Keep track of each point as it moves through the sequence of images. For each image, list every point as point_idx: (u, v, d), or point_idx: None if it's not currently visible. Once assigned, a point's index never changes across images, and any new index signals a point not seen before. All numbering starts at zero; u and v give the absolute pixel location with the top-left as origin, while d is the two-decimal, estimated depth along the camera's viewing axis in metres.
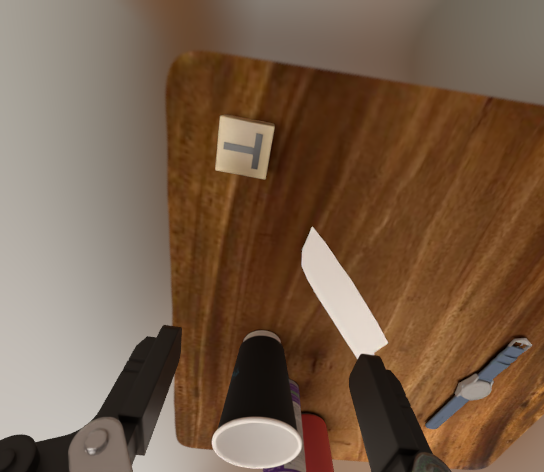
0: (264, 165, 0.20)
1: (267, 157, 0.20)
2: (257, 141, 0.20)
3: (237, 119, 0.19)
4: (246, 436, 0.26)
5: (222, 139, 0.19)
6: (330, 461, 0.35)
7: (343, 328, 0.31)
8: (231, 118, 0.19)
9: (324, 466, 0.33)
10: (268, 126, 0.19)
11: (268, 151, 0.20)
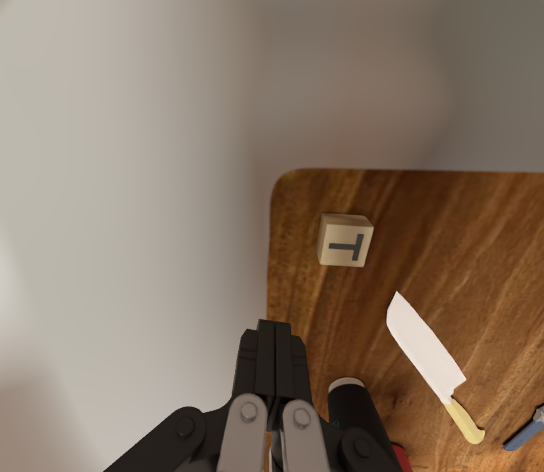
0: (363, 256, 0.23)
1: (366, 250, 0.23)
2: (358, 239, 0.22)
3: (342, 225, 0.22)
4: None
5: (327, 241, 0.23)
6: None
7: (424, 371, 0.33)
8: (336, 225, 0.22)
9: None
10: (368, 227, 0.22)
11: (367, 246, 0.23)
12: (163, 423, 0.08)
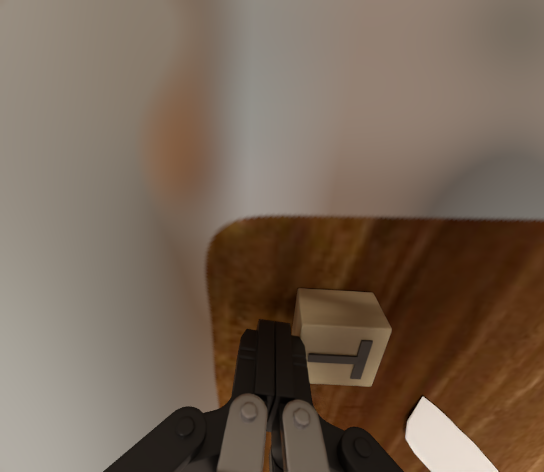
0: (371, 373, 0.13)
1: (377, 364, 0.13)
2: (362, 348, 0.12)
3: (331, 326, 0.11)
4: None
5: (305, 350, 0.12)
6: None
7: None
8: (320, 325, 0.12)
9: None
10: (382, 330, 0.12)
11: (379, 357, 0.12)
12: (163, 423, 0.08)
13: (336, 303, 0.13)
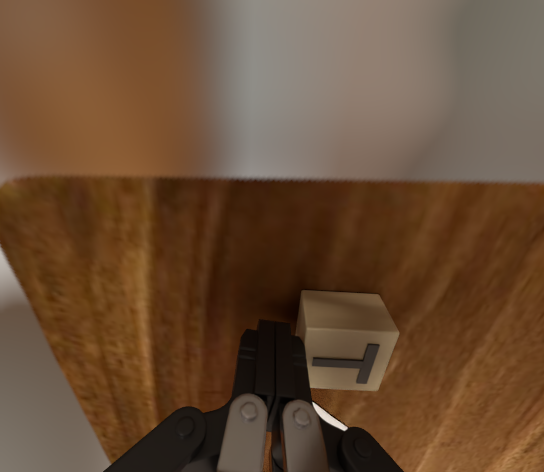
0: (377, 377, 0.12)
1: (384, 368, 0.12)
2: (368, 352, 0.12)
3: (337, 330, 0.11)
4: None
5: (310, 354, 0.12)
6: None
7: None
8: (325, 329, 0.11)
9: None
10: (389, 333, 0.11)
11: (386, 361, 0.12)
12: (163, 423, 0.08)
13: (341, 305, 0.12)
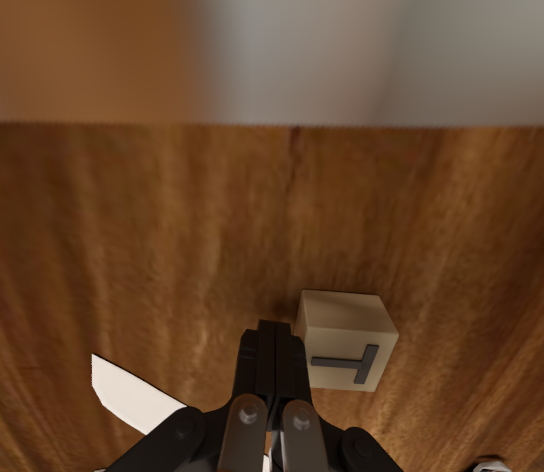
0: (375, 378, 0.12)
1: (382, 369, 0.12)
2: (368, 353, 0.12)
3: (337, 330, 0.11)
4: None
5: (309, 354, 0.12)
6: None
7: None
8: (326, 328, 0.11)
9: None
10: (389, 335, 0.11)
11: (384, 362, 0.12)
12: (163, 423, 0.08)
13: (342, 306, 0.12)
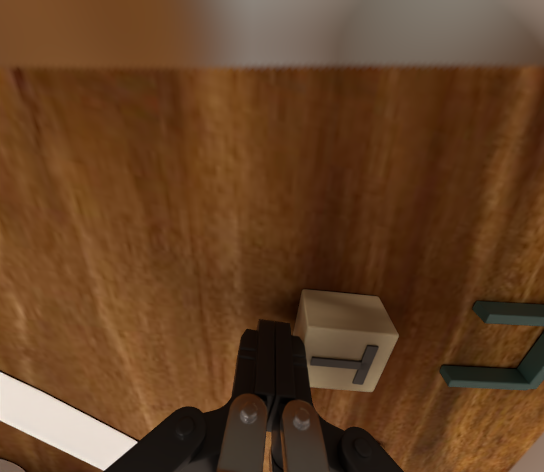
0: (373, 378, 0.13)
1: (380, 370, 0.12)
2: (367, 353, 0.12)
3: (337, 330, 0.11)
4: None
5: (309, 353, 0.12)
6: None
7: (80, 453, 0.20)
8: (326, 328, 0.11)
9: None
10: (388, 335, 0.11)
11: (383, 363, 0.12)
12: (163, 423, 0.08)
13: (342, 306, 0.12)
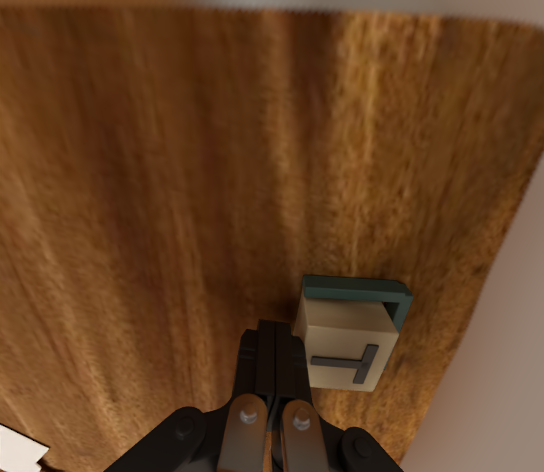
0: (374, 378, 0.13)
1: (381, 369, 0.12)
2: (367, 352, 0.12)
3: (337, 330, 0.11)
4: None
5: (309, 353, 0.12)
6: None
7: None
8: (326, 328, 0.11)
9: None
10: (388, 334, 0.11)
11: (384, 362, 0.12)
12: (163, 423, 0.08)
13: (342, 305, 0.12)
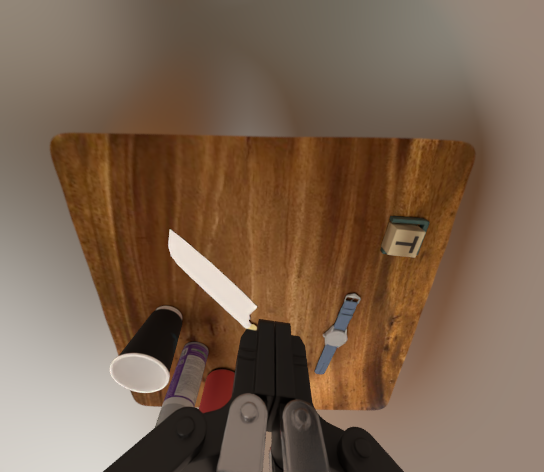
0: (416, 250, 0.36)
1: (418, 246, 0.36)
2: (414, 239, 0.36)
3: (406, 230, 0.35)
4: (145, 374, 0.39)
5: (395, 240, 0.36)
6: None
7: (218, 298, 0.43)
8: (402, 230, 0.35)
9: (224, 402, 0.46)
10: (422, 232, 0.35)
11: (420, 244, 0.36)
12: (163, 423, 0.08)
13: (405, 225, 0.36)
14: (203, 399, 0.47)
